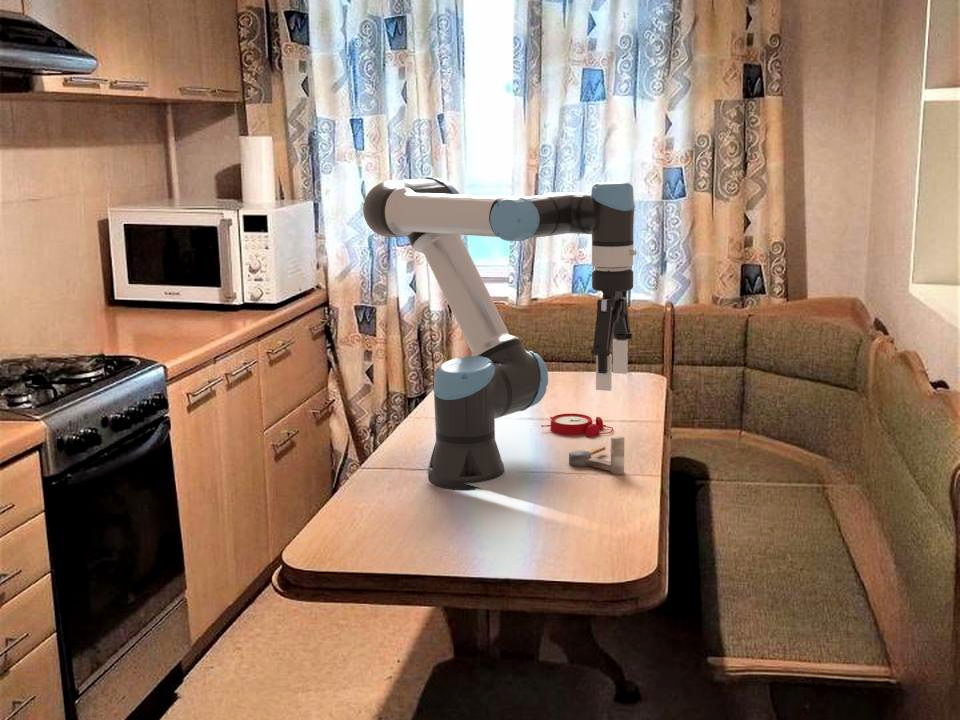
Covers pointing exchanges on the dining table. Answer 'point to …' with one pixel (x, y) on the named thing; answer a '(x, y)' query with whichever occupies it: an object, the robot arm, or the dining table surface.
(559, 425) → the alarm clock
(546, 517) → the dining table surface
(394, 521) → the dining table surface
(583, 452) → the peg lever
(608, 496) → the dining table surface
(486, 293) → the robot arm
